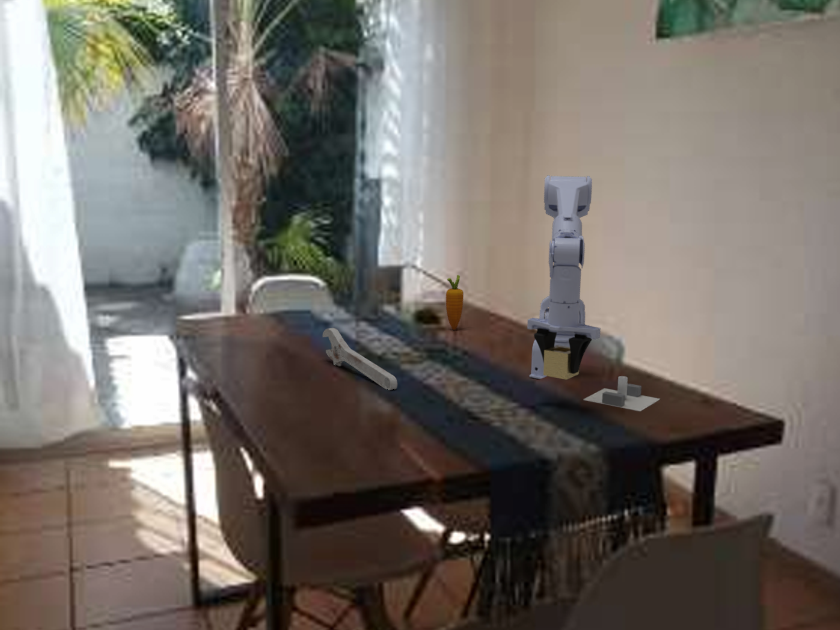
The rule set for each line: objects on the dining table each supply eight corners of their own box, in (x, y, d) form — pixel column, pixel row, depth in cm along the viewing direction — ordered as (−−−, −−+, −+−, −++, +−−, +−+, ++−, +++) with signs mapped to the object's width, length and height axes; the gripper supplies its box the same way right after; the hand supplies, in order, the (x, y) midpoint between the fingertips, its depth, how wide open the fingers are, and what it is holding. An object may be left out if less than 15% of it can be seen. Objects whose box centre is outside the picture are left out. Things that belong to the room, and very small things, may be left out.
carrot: (448, 332, 240) (448, 277, 237) (442, 328, 245) (443, 274, 242) (465, 331, 242) (466, 276, 238) (459, 327, 246) (461, 273, 243)
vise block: (582, 405, 178) (584, 377, 177) (604, 393, 186) (605, 367, 185) (639, 417, 171) (641, 388, 170) (659, 404, 179) (661, 377, 178)
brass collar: (543, 375, 172) (544, 349, 171) (555, 369, 176) (556, 345, 175) (566, 379, 170) (567, 354, 169) (578, 374, 174) (579, 349, 172)
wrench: (389, 404, 187) (321, 357, 211) (396, 403, 188) (328, 356, 212) (391, 368, 185) (322, 325, 208) (399, 367, 186) (329, 324, 209)
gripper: (520, 299, 171) (518, 368, 174) (590, 308, 163) (586, 381, 165) (538, 294, 177) (535, 360, 179) (606, 303, 168) (602, 373, 171)
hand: (561, 370), depth 173 cm, fingers closed on brass collar, 5 cm apart
